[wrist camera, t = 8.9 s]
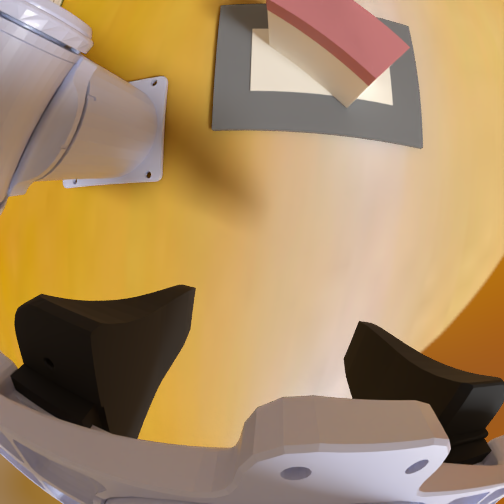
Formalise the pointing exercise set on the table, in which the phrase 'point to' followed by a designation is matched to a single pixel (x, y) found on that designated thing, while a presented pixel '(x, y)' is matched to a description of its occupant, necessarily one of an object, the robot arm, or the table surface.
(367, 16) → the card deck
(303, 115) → the mat
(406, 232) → the table surface
